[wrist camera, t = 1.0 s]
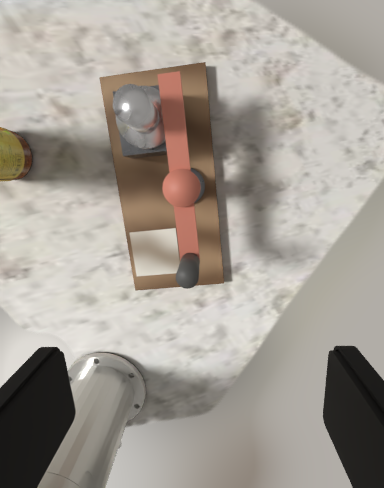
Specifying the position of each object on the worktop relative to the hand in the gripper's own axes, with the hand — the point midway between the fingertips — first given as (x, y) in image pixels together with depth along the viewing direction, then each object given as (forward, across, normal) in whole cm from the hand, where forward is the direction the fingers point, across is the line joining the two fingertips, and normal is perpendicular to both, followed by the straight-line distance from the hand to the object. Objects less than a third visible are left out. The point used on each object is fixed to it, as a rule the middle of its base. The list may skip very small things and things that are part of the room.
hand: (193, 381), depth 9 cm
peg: (+25, +6, -12) cm, 29 cm away
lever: (+20, +2, -6) cm, 21 cm away
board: (+26, +5, -5) cm, 27 cm away
